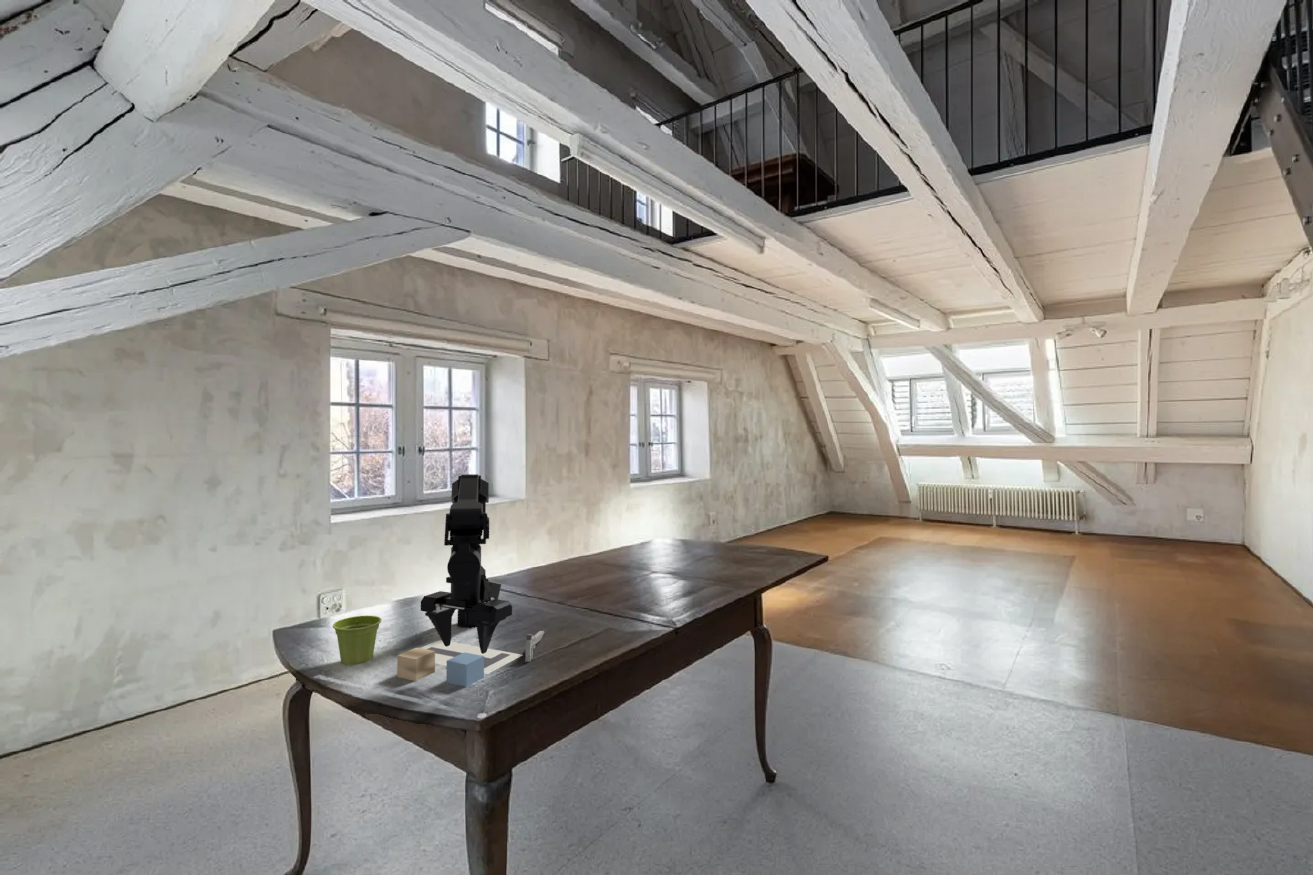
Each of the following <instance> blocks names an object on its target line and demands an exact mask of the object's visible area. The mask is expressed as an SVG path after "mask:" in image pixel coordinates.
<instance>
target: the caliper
mask: <svg viewBox="0 0 1313 875" xmlns="http://www.w3.org/2000/svg"><path fill="white" fill-rule="evenodd" d="M544 633H545V630H539V631H538V632H537V633H536V634H534V635H533V633H527V634H526V641H525V663H530V662H531V661H532V660H531V659H533V652H534V650H535V649H536V645H537V644H538V643H539V642H540V641H541V640H542V637H543V635H544Z"/></svg>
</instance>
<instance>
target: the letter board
mask: <svg viewBox="0 0 1313 875" xmlns="http://www.w3.org/2000/svg"><path fill="white" fill-rule="evenodd" d="M420 648H422V649H427V650H432V651H435V665H439V666H444V667H447V660H449V659H451V658H453V657H455V656H458V655H460V654H462V653H464V652H465V653H470V654H476V655H481V656H484V675H488V674H489V675H490V674H491V673H492V672H494V671H497V670H498V669H500V668H502V667H504V666H506V665H508V664H509V663H511V662H513V661H515V660H516V659H519V658H520V657H522V656H523V654H519V653H515V652H511V651H510V652H508V651H505V650H504V651H503V650H499V649H492V648H488V649H487V652H486V653H484V654H482V653H481V650H480V646H476V645H471V644H466V643H461V642H455V641H451V643H450V646H447V647H446V646H445V645H444V643H443V641H442V640H441V639H439V640H436V641H434V642H431V643H429V644H426V645H424V646H421V647H420Z"/></svg>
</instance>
